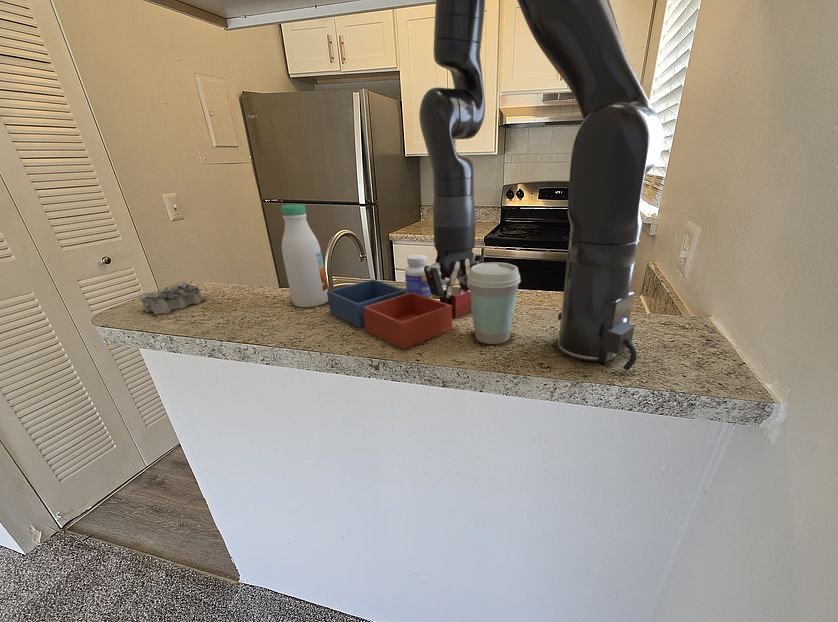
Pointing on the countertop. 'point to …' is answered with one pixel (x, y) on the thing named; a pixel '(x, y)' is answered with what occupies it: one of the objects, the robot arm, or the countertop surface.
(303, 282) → the milk bottle
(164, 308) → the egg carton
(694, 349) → the countertop surface
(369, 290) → the blue bin
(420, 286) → the pill bottle
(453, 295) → the red block
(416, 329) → the red bin
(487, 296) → the coffee cup
